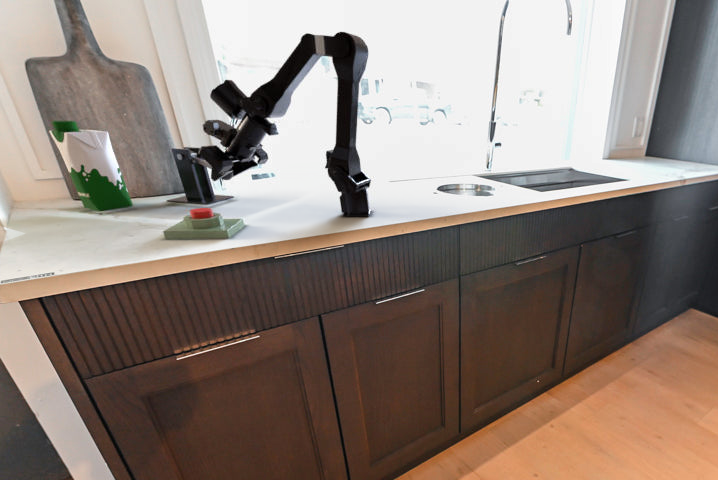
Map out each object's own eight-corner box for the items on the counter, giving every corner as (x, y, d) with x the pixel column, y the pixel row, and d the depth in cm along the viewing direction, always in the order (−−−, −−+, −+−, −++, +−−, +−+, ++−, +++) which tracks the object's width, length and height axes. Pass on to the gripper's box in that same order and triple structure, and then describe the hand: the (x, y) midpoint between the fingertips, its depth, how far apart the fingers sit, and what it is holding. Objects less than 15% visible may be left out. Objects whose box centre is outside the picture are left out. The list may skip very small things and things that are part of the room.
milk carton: (79, 211, 104) (39, 120, 95) (121, 204, 112) (88, 119, 102) (99, 216, 101) (60, 122, 92) (141, 208, 109) (109, 121, 99)
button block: (244, 226, 98) (240, 210, 97) (229, 238, 90) (224, 221, 88) (187, 226, 96) (182, 211, 94) (165, 239, 88) (159, 222, 86)
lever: (235, 181, 115) (236, 168, 113) (226, 183, 111) (227, 170, 110) (188, 159, 114) (189, 145, 112) (177, 160, 110) (178, 147, 109)
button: (217, 215, 94) (214, 207, 93) (209, 220, 90) (207, 212, 89) (196, 216, 93) (194, 207, 92) (188, 220, 89) (186, 212, 89)
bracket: (234, 200, 121) (221, 147, 114) (208, 207, 112) (192, 151, 105) (196, 197, 122) (180, 145, 115) (167, 204, 113) (149, 148, 107)
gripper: (247, 107, 112) (220, 150, 119) (192, 108, 96) (165, 157, 103) (281, 141, 115) (253, 181, 122) (234, 147, 99) (205, 193, 106)
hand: (221, 178), depth 113 cm, fingers open, 6 cm apart
